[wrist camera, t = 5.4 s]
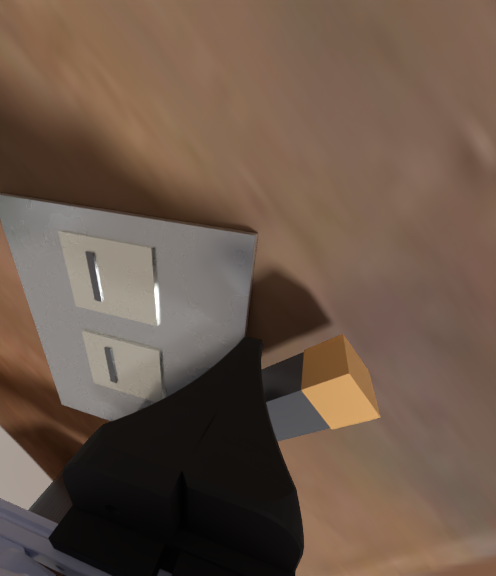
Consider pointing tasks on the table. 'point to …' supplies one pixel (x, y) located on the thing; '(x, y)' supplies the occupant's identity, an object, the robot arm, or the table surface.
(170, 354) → the tray base
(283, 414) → the swing arm
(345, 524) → the table surface
